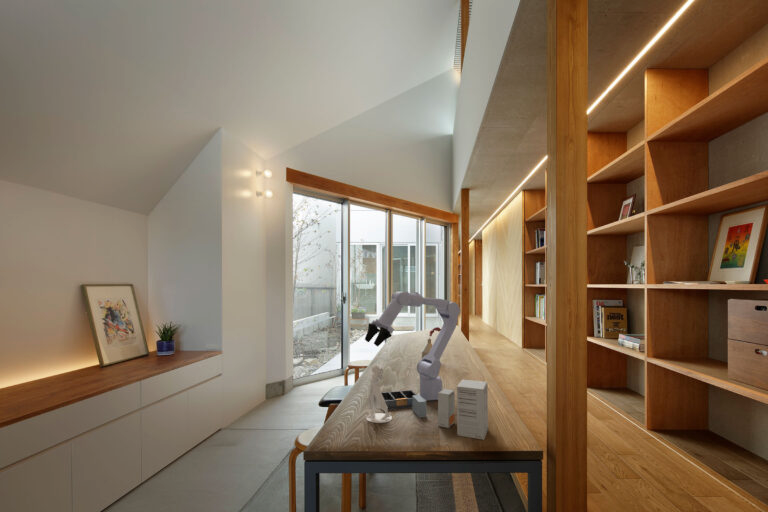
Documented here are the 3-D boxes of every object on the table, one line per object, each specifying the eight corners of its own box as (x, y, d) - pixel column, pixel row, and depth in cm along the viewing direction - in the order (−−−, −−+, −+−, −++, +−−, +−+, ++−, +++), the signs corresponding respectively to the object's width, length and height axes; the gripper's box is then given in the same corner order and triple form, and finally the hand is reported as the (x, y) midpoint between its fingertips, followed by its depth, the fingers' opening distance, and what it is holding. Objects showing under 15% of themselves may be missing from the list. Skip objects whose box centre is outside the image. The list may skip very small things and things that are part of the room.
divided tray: (411, 398, 175) (411, 389, 175) (420, 406, 164) (420, 397, 164) (376, 401, 171) (376, 392, 171) (383, 410, 160) (382, 400, 160)
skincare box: (448, 428, 141) (448, 394, 142) (437, 426, 144) (437, 392, 144) (455, 422, 147) (454, 390, 147) (444, 420, 149) (444, 388, 149)
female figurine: (352, 412, 158) (352, 361, 159) (392, 412, 157) (392, 361, 158) (348, 422, 148) (348, 368, 148) (391, 423, 147) (391, 368, 147)
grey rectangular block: (419, 409, 161) (419, 394, 161) (426, 417, 153) (426, 401, 153) (412, 410, 160) (412, 395, 160) (419, 417, 152) (418, 401, 152)
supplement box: (462, 425, 144) (461, 378, 145) (488, 429, 141) (487, 381, 141) (456, 435, 135) (456, 385, 136) (484, 440, 132) (483, 388, 132)
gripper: (374, 307, 172) (356, 333, 168) (392, 313, 160) (373, 341, 156) (384, 316, 175) (367, 342, 171) (403, 323, 163) (385, 351, 159)
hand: (371, 342), depth 164 cm, fingers open, 7 cm apart
